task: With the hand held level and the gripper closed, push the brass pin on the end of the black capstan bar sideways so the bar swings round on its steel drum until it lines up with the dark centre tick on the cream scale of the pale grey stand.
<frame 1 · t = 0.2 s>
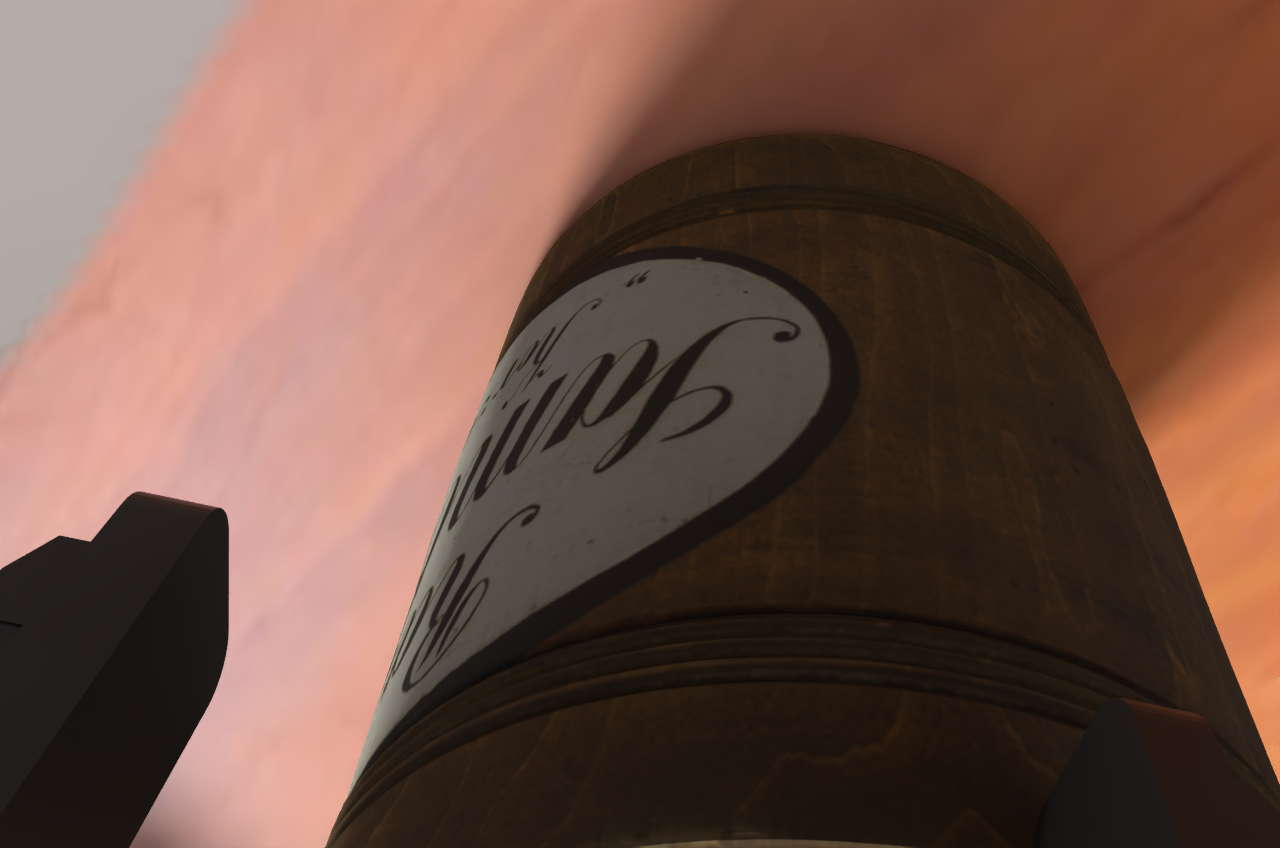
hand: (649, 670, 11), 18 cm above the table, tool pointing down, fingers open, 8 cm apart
wooden container: (788, 401, 30), on the table, touching gripper
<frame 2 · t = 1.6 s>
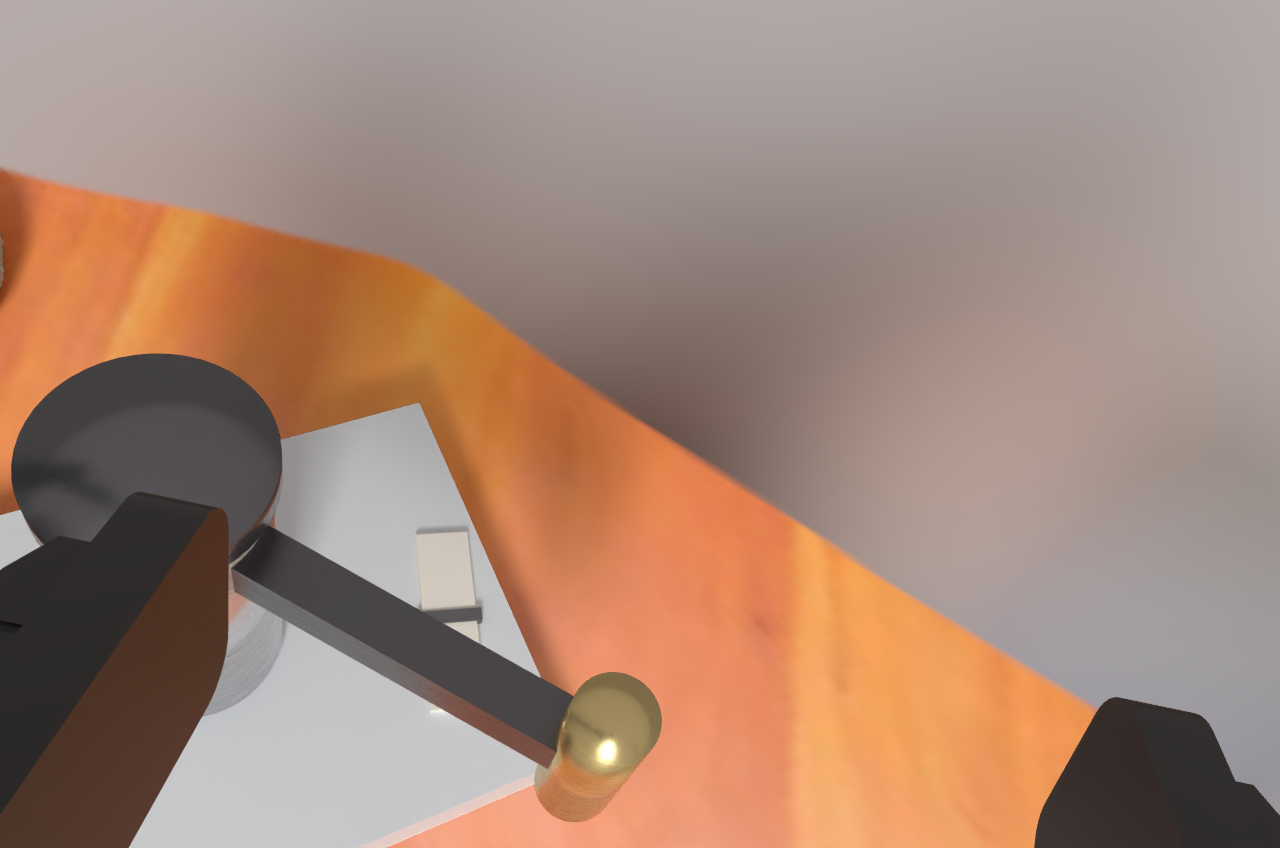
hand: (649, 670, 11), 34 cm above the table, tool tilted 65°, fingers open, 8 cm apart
capstan: (341, 652, 35), point 9 cm above the table, hinge at -36.0°
stand: (199, 659, 43), on the table
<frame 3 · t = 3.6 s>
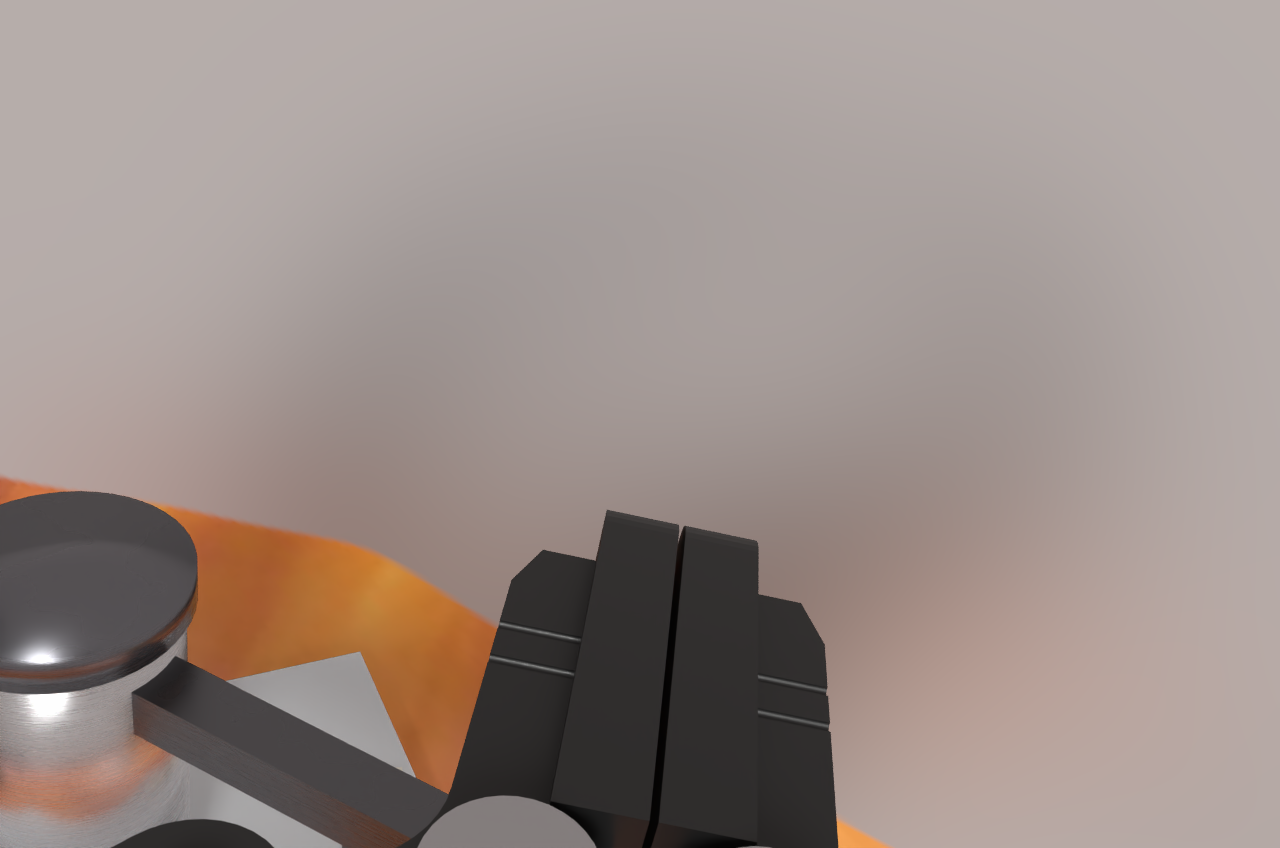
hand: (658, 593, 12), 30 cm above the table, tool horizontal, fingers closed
capstan: (246, 823, 32), point 9 cm above the table, hinge at -36.0°
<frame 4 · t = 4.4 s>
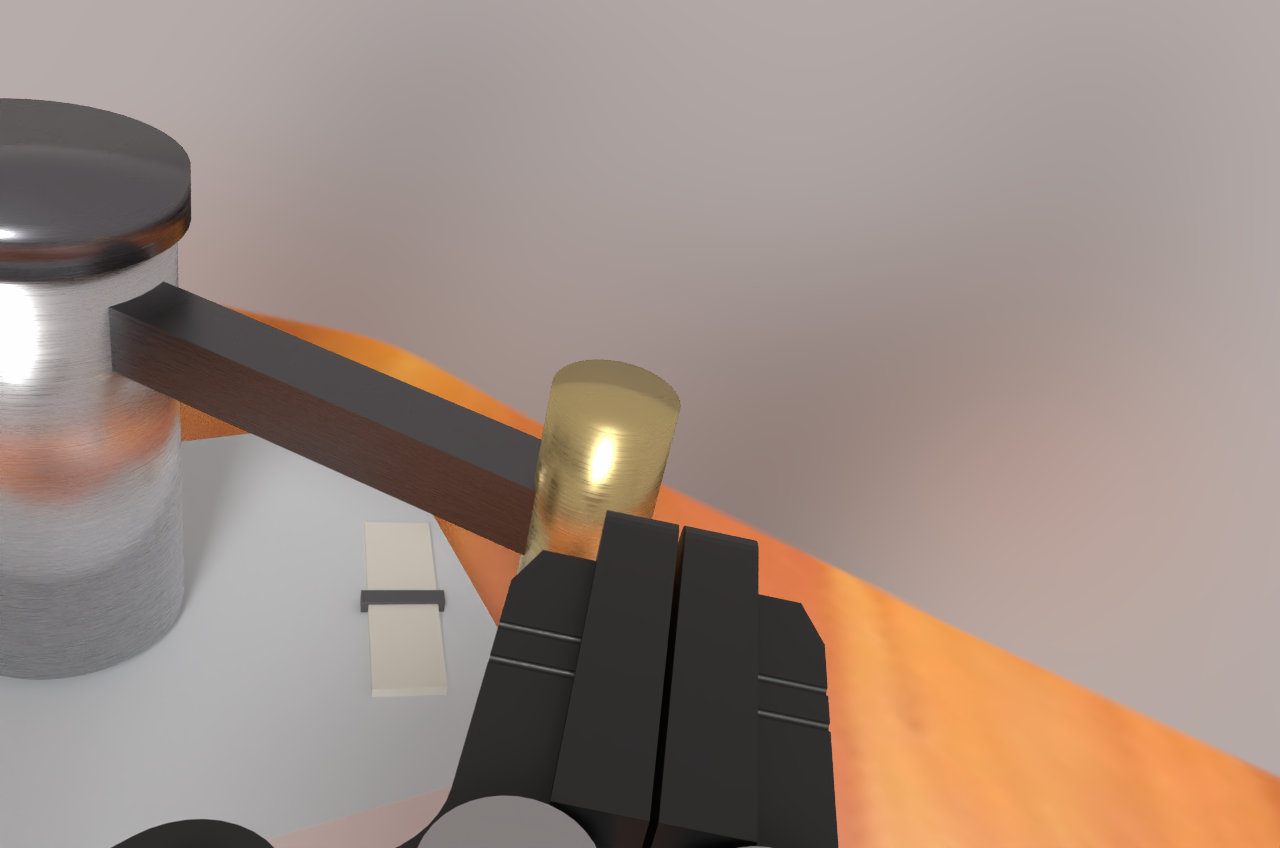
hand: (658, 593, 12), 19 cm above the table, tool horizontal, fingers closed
capstan: (250, 497, 27), point 9 cm above the table, hinge at -36.0°
stand: (70, 660, 33), on the table
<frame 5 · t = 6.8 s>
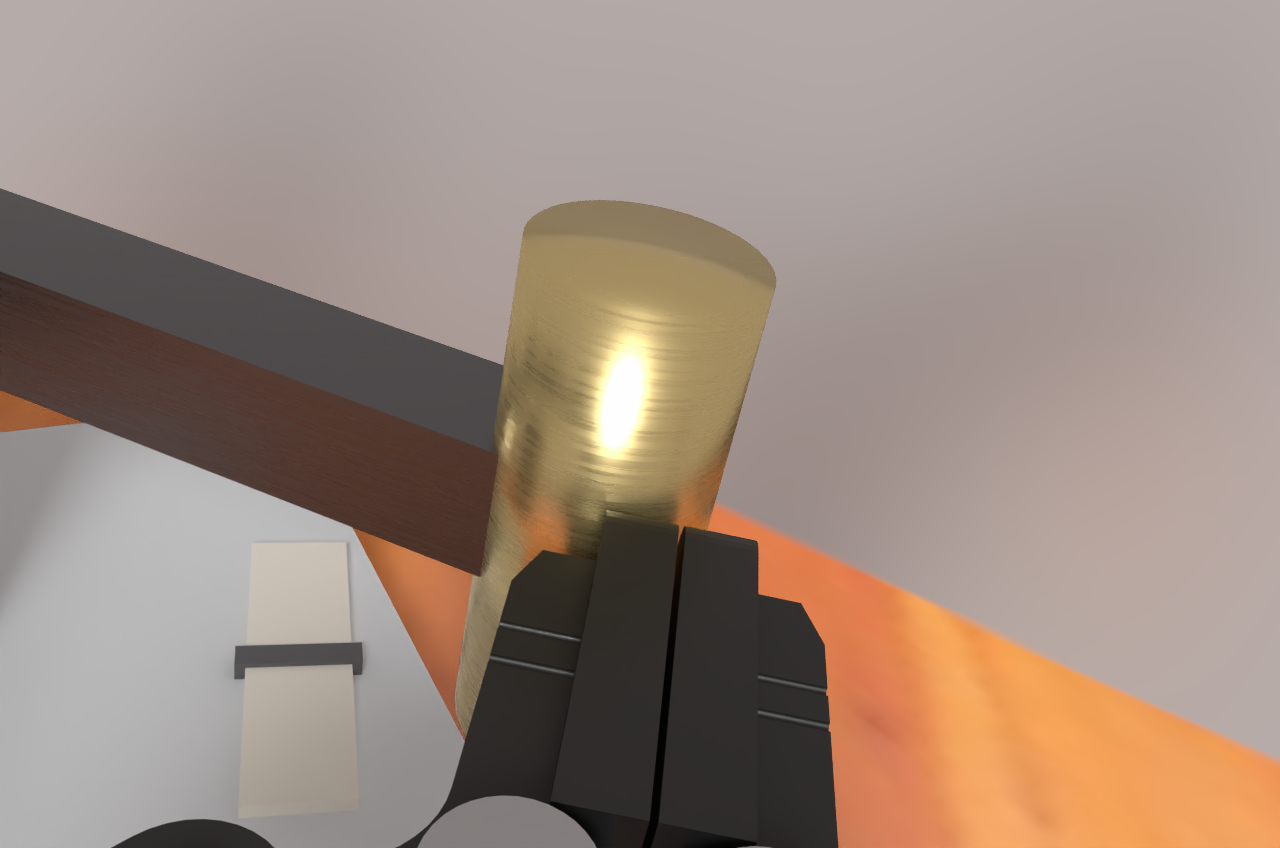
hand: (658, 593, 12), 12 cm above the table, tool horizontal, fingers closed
capstan: (5, 497, 16), point 9 cm above the table, hinge at -33.0°, touching gripper
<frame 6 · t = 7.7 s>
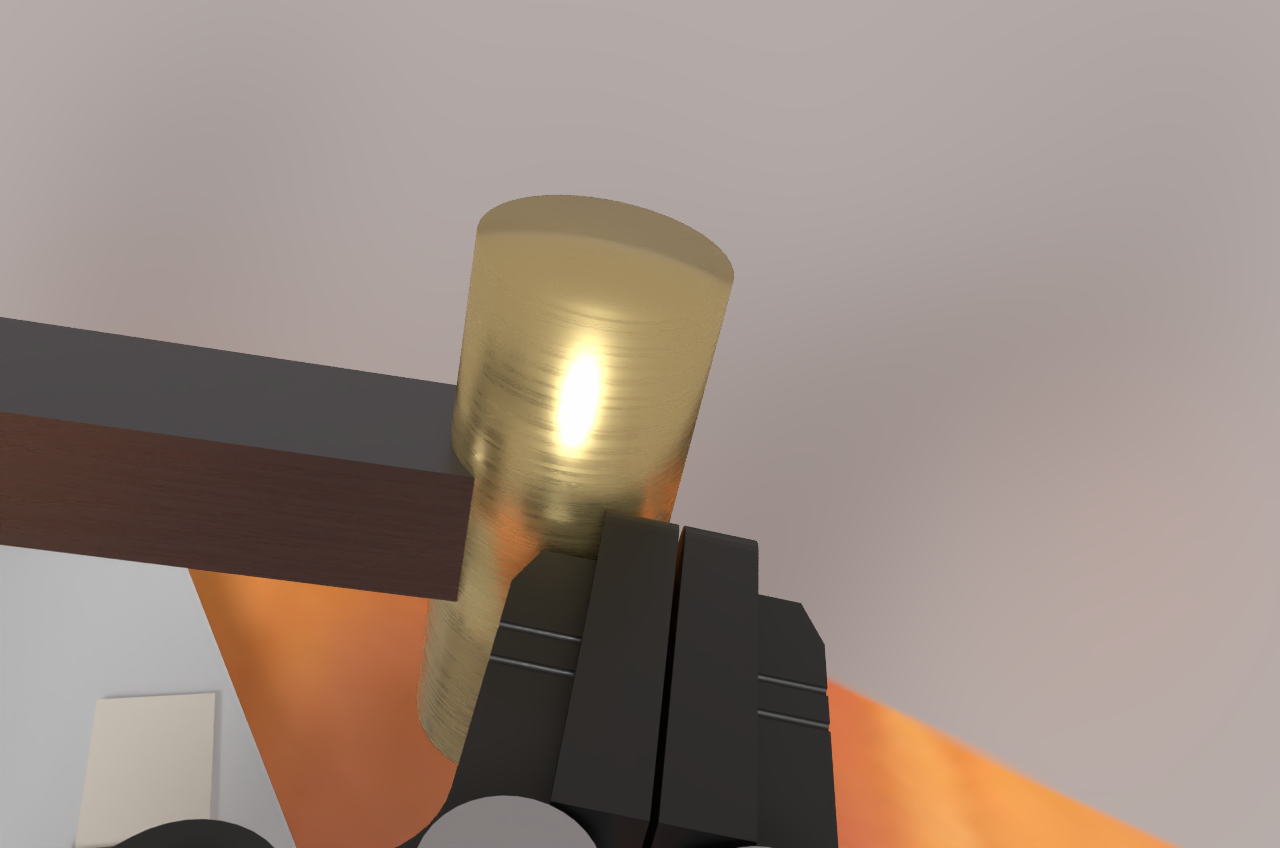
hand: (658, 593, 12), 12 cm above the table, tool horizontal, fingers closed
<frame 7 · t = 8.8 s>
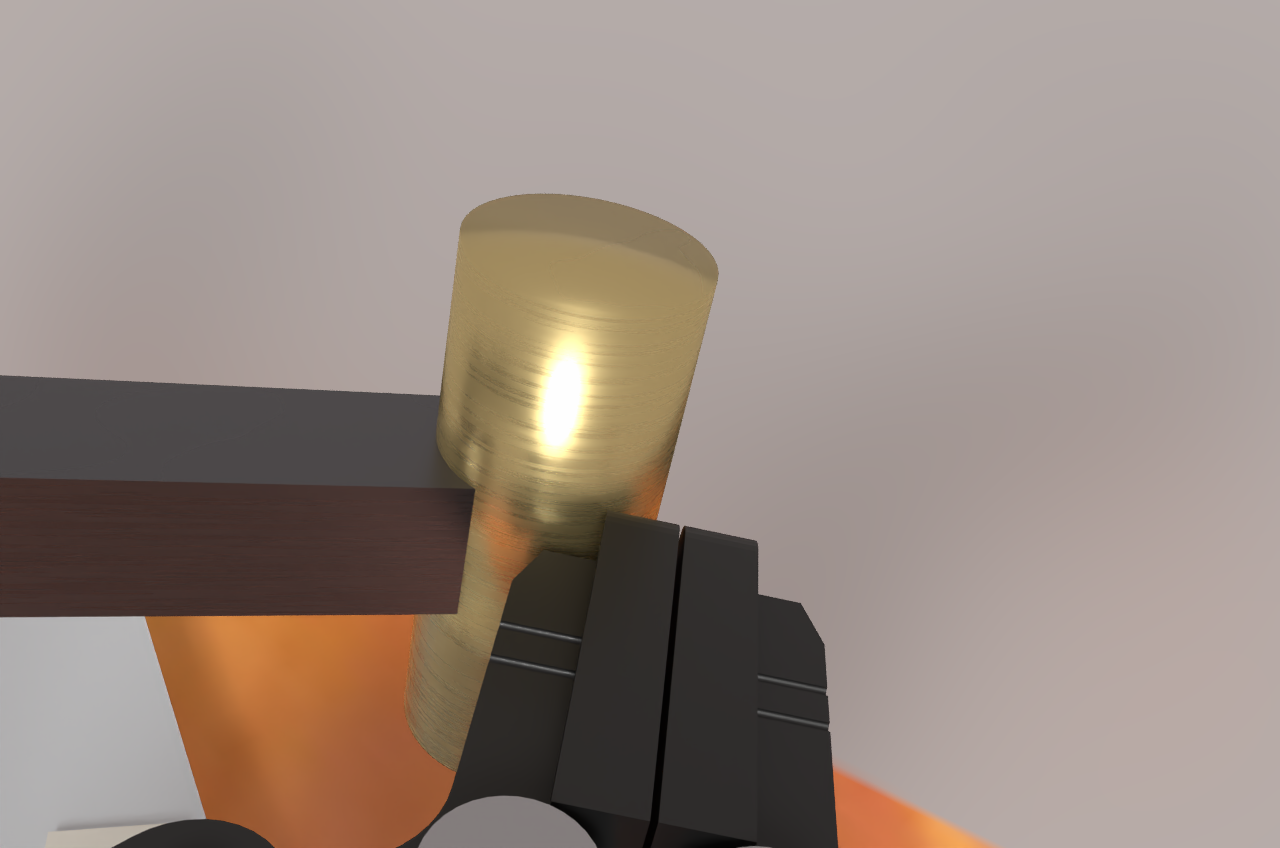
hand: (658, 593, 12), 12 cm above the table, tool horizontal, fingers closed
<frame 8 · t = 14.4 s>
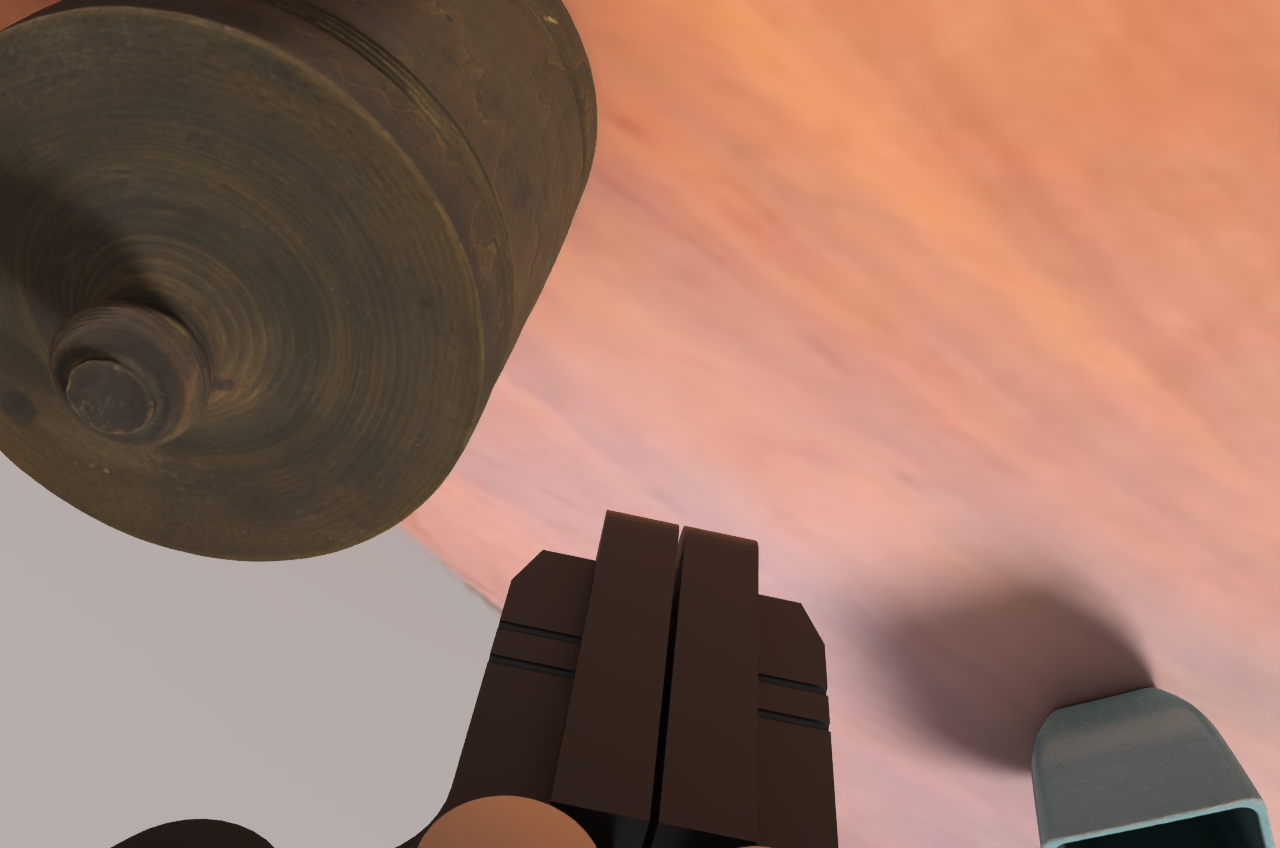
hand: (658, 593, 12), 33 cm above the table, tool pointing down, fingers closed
wooden container: (402, 107, 43), on the table
flower pot: (1113, 727, 56), on the table
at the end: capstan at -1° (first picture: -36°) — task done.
